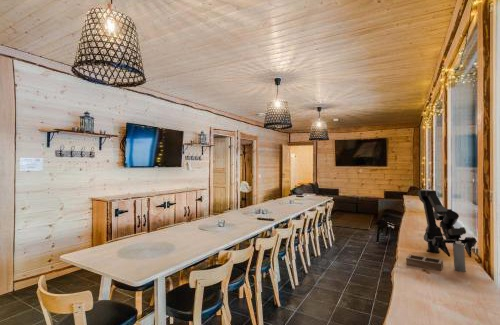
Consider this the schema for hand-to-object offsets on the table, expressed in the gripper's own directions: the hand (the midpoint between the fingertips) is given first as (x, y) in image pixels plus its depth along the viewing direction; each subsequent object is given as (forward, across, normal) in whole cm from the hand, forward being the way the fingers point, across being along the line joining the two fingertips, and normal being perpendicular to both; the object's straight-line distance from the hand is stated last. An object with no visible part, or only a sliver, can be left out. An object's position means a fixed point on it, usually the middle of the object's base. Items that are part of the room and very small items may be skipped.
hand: (460, 256), depth 137 cm
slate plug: (+4, 0, +6) cm, 7 cm away
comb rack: (+1, -14, +9) cm, 17 cm away
